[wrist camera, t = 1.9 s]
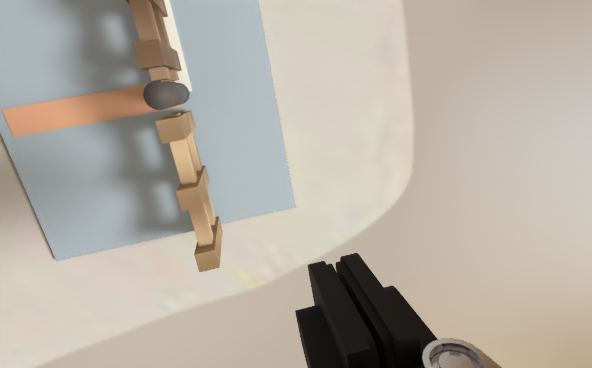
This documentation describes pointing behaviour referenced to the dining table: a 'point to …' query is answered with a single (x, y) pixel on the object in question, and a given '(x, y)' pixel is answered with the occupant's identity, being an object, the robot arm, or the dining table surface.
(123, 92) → the card
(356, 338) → the robot arm
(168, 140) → the fence fold
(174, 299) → the dining table surface
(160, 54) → the fence fixed
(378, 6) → the dining table surface
